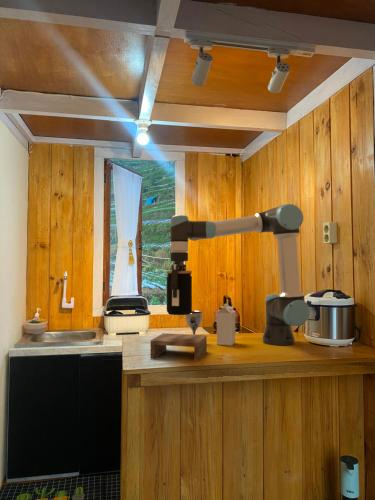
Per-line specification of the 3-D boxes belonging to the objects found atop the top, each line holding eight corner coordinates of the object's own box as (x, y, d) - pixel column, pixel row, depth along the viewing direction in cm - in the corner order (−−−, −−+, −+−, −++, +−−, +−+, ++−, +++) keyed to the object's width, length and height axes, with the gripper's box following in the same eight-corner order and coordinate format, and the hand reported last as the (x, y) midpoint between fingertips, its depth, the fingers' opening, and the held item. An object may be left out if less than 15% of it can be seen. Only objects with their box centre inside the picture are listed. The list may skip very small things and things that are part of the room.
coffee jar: (195, 312, 160) (195, 270, 161) (187, 315, 150) (186, 271, 151) (172, 311, 164) (172, 270, 164) (162, 314, 153) (162, 271, 154)
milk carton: (216, 344, 174) (216, 304, 175) (221, 341, 181) (221, 302, 182) (231, 346, 172) (231, 304, 172) (235, 343, 178) (235, 303, 179)
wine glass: (202, 342, 181) (202, 311, 181) (201, 345, 173) (201, 313, 173) (186, 341, 182) (186, 310, 182) (184, 345, 174) (184, 313, 174)
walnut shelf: (206, 351, 161) (206, 335, 162) (198, 361, 146) (198, 343, 146) (162, 348, 166) (162, 333, 167) (150, 357, 151) (150, 340, 151)
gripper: (178, 252, 170) (178, 301, 169) (162, 251, 147) (162, 307, 147) (194, 252, 168) (194, 301, 167) (180, 251, 145) (180, 307, 145)
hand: (179, 304), depth 157 cm, fingers closed on coffee jar, 11 cm apart
